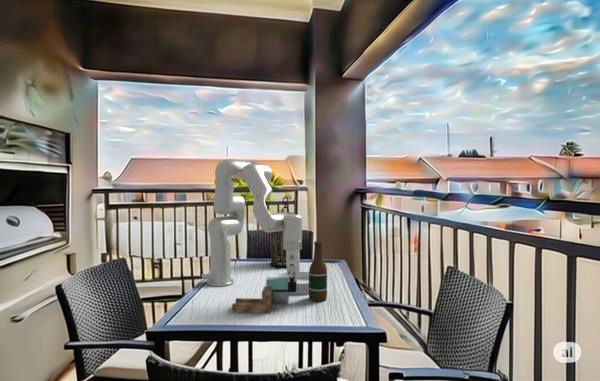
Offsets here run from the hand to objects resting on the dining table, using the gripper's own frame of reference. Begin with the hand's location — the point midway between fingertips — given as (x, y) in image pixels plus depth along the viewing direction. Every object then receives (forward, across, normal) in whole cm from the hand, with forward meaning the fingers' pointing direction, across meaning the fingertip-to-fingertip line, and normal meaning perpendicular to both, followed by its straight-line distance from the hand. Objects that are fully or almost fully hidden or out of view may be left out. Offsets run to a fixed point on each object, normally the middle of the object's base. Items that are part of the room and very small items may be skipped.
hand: (292, 289), depth 152 cm
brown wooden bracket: (+5, -10, +15) cm, 18 cm away
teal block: (-3, 0, +4) cm, 5 cm away
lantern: (+5, +66, +8) cm, 67 cm away
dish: (+5, +21, -2) cm, 22 cm away
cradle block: (+5, 0, +6) cm, 8 cm away
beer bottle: (+5, +4, -10) cm, 12 cm away
